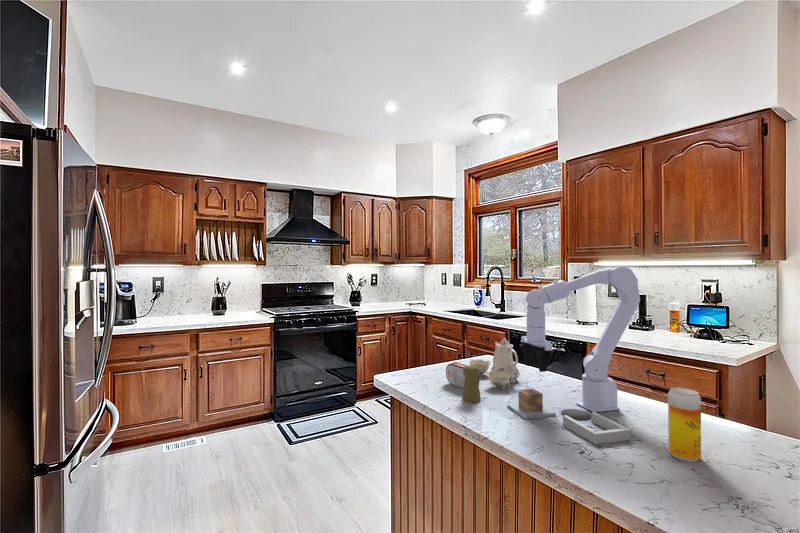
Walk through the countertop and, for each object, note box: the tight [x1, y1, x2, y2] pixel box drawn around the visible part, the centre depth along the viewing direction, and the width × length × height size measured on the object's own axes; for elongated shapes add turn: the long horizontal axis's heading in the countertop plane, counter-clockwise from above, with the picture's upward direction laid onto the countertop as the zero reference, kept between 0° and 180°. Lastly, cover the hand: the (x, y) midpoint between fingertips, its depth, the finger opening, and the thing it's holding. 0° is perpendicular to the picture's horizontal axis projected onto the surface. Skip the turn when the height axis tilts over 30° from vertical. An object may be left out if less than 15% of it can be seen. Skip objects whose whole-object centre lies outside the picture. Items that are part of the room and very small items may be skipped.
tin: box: [445, 361, 480, 390], centre depth 143 cm, size 15×3×8 cm, turn 35°
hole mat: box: [560, 408, 592, 421], centre depth 116 cm, size 8×8×1 cm
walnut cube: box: [518, 388, 544, 412], centre depth 119 cm, size 5×5×5 cm
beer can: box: [667, 386, 702, 463], centre depth 91 cm, size 6×6×15 cm
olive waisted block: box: [461, 364, 482, 404], centre depth 130 cm, size 6×6×11 cm
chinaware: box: [469, 337, 521, 390], centre depth 152 cm, size 28×17×17 cm, turn 17°
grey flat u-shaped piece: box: [562, 411, 632, 445], centre depth 104 cm, size 10×12×2 cm
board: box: [506, 402, 557, 420], centre depth 119 cm, size 10×10×1 cm
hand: (536, 368), depth 129 cm, fingers open, 7 cm apart
